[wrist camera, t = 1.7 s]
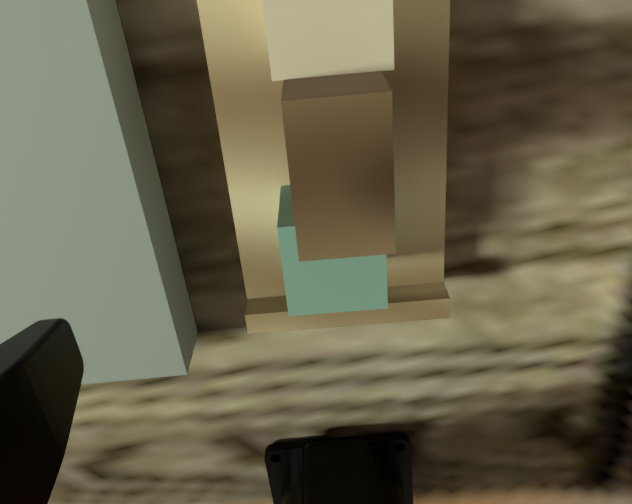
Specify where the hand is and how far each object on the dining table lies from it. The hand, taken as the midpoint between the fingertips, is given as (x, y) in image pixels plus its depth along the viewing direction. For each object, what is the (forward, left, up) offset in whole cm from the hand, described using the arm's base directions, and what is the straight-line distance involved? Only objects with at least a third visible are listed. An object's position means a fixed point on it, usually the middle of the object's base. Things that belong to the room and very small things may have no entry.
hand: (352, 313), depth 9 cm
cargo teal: (-3, 0, -10) cm, 11 cm away
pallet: (0, 0, -12) cm, 12 cm away
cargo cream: (+4, 0, -10) cm, 11 cm away
